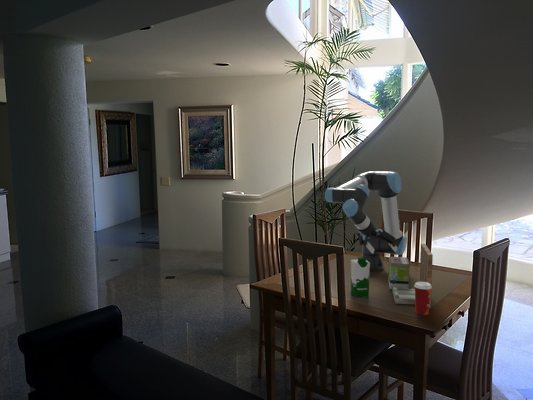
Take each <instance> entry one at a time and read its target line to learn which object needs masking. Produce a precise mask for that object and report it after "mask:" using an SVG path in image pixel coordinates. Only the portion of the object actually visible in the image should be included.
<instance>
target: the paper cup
mask: <svg viewBox="0 0 533 400" xmlns="http://www.w3.org/2000/svg"><path fill="white" fill-rule="evenodd" d="M413 287H414V289H415V304H414V305H415V306H414V307H415V313H416V314H417V315H418V316H419V315H420V316H428V315H429V311H430V308H429V304H430V294H431V295H432V289H433V288H432V287H433V286H431V284H430V283H427V282H420V281H416V282H414V285H413ZM431 288H432V289H431Z"/></svg>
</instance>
